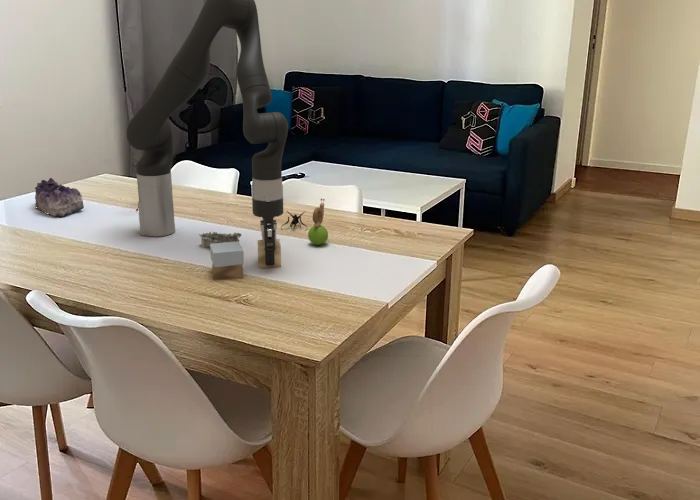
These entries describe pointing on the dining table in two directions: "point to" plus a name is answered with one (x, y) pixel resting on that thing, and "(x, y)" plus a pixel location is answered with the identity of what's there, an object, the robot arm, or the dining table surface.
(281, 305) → the dining table surface
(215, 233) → the grey stone ruin model
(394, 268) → the dining table surface
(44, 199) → the geode
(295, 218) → the creature
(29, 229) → the dining table surface
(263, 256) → the oak cube
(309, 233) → the snail figurine
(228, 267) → the tower base
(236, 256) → the tower top
